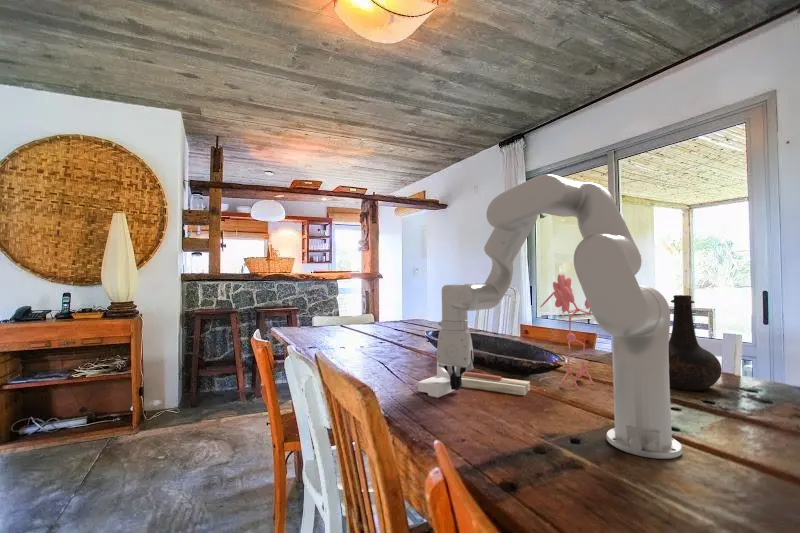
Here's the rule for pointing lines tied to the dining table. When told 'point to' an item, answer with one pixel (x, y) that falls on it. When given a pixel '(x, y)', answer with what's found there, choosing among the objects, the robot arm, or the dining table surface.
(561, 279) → the figurine
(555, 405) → the dining table surface
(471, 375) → the pencil
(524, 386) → the board
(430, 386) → the bracket
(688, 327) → the glass bottle
